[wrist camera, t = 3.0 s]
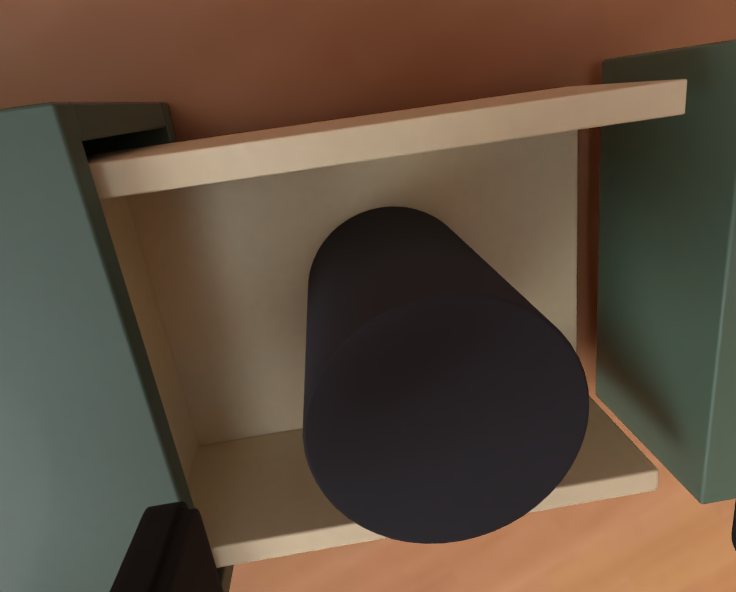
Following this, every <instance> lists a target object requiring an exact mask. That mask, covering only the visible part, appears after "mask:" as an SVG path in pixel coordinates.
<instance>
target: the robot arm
mask: <svg viewBox="0 0 736 592" xmlns="http://www.w3.org/2000/svg"><path fill="white" fill-rule="evenodd" d="M732 542H733V545H734V548H735V550H736V502H735V510H734V519H733V527H732ZM110 592H224V591H223V588H222V584H221V581H220V578H219V574H218V571H217V568H216V564H215V561H214V557H213V554H212V551H211V547H210V544H209V541H208V537H207V534H206V531H205V527H204V524H203V520H202V517H201V514H200V512H199V510H198V509H197V508H194V509H189V508H188V506H187V504H186V503H185V502H183V501H180V502H174V503H168V504H162V505H156V506H151V507H148V508H147V509H146V510H145V511H144V513H143V515H142V517H141V520H140V522H139V524H138V527H137V529H136V531H135V534H134V536H133V538H132V541H131V543H130V545H129V548H128V550H127V552H126V555H125V557H124V559H123V562H122V564H121V566H120V569H119V571H118V573H117V576H116V578H115V580H114V583H113V585H112V587H111V590H110Z"/></svg>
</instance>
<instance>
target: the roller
mask: <svg viewBox="0 0 736 592" xmlns="http://www.w3.org/2000/svg"><path fill="white" fill-rule="evenodd" d="M588 416H589V392H588V385H587V381H586V376H585V372H584V369H583V367H582V364H581V362H580V359H579V357H578V355H577V353H576V352H575V350H574V348H573V347H572V345H571V343H570V342H569V341H568V340H567V338H566V337H565V336H564V335H563V333H562V332H561V331H560V330H559V329H558V328H557V327H556V326H555V325H554V324H553V323H552V322H550V321H549V320H548V319H547V318H546V317H545V316H544V315H543V314H542V313H541V312H540V311H539V310H538V309H536V308H535V307H534V306H533V305H532V304H531V303H530V302H529V301H528V300H527V299H526V298H525V297H524V296H522V295H521V294H520V293H519V292H518V291H517V290H516V289H515V288H514V287H513V286H512V285H511V284H510V283H508V282H507V281H506V280H505V279H504V278H503V277H502V276H501V275H500V274H499V273H498V272H497V271H495V270H494V269H493V268H492V267H491V266H490V265H489V264H488V263H487V262H486V261H485V260H484V259H483V258H481V257H480V256H479V255H478V254H477V253H476V252H475V251H474V250H473V249H472V248H471V247H470V246H469V245H467V244H466V243H465V242H464V241H463V240H462V239H461V238H460V237H459V236H458V235H457V234H456V233H455V232H453V231H452V230H451V229H450V228H449V227H448V226H447V225H446V224H445V223H443V222H442V221H440V220H439V219H437V218H436V217H434V216H432V215H430V214H428V213H426V212H423V211H420V210H417V209H413V208H407V207H396V206H390V207H380V208H375V209H371V210H368V211H365V212H362V213H359V214H357V215H355V216H353V217H351V218H349V219H348V220H346V221H345V222H344V223H342V224H341V225H339V226H338V227H337V228H336V229H335V230H334V231H333V232H331V234H330V235H329V236H328V237H327V238H326V239H325V241H324V242H323V243H322V245H321V246H320V248H319V250H318V251H317V253H316V256H315V258H314V260H313V263H312V266H311V269H310V273H309V279H308V299H307V326H306V353H305V380H304V407H303V443H304V451H305V455H306V459H307V462H308V466H309V469H310V471H311V473H312V475H313V477H314V479H315V482H316V483H317V485H318V486H319V488H320V489H321V491H322V492H323V494H324V495H325V497H326V498H327V499H328V500H329V501H330V502H331V503H332V504H333V506H334V507H335V508H336V509H337V510H339V511H340V512H341V513H342V514H343V515H345V516H346V517H347V518H348V519H350V520H351V521H353V522H355V523H356V524H358V525H359V526H361V527H363V528H365V529H367V530H369V531H371V532H374V533H376V534H378V535H382V536H385V537H388V538H391V539H395V540H400V541H405V542H412V543H424V544H431V543H448V542H456V541H462V540H466V539H471V538H475V537H478V536H481V535H484V534H487V533H490V532H493V531H495V530H497V529H500V528H502V527H504V526H506V525H508V524H510V523H512V522H514V521H515V520H517V519H519V518H520V517H522V516H524V515H525V514H527V513H528V512H529V511H531V510H532V509H533V508H535V507H536V506H537V505H539V504H540V503H541V502H542V501H543V500H544V499H545V498H546V497H547V496H548V495H550V494H551V492H552V491H553V490H554V489H555V488H556V487H557V486H558V485H559V483H560V482H561V481H562V480H563V478H564V477H565V475H566V474H567V472H568V471H569V470H570V468H571V466H572V464H573V463H574V461H575V459H576V457H577V455H578V453H579V451H580V448H581V445H582V443H583V440H584V437H585V433H586V429H587V424H588Z"/></svg>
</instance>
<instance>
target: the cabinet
mask: <svg viewBox="0 0 736 592" xmlns="http://www.w3.org/2000/svg"><path fill="white" fill-rule="evenodd" d="M175 142H177V141H176V137H175V133H174V128H173V124H172V120H171V116H170V112H169V108H168V104H167V103H165V102H159V103H158V102H67V103H66V102H49V103H42V104H34V105H27V106H20V107H13V108H5V109H0V592H110V590H111V587H112V585H113V583H114V580H115V578H116V576H117V573H118V571H119V569H120V566H121V564H122V562H123V559H124V557H125V555H126V552H127V550H128V548H129V545H130V543H131V541H132V538H133V536H134V534H135V531H136V529H137V527H138V524H139V522H140V520H141V517H142V515H143V513H144V511H145V510H146V509H147V508H148V507H151V506H156V505H162V504H168V503H174V502H180V501H183V502H185V503H186V504H187V506H188V508H189V509H194V505H193V501H192V498H191V495H190V492H189V488H188V485H187V482H186V479H185V475H184V472H183V469H182V466H181V462H180V459H179V456H178V453H177V449H176V446H175V443H174V440H173V436H172V433H171V430H170V427H169V423H168V420H167V417H166V414H165V410H164V407H163V404H162V401H161V397H160V394H159V391H158V388H157V385H156V381H155V378H154V375H153V372H152V368H151V365H150V362H149V359H148V355H147V352H146V349H145V346H144V342H143V339H142V336H141V333H140V329H139V326H138V323H137V320H136V316H135V313H134V310H133V307H132V303H131V300H130V297H129V294H128V290H127V287H126V284H125V281H124V277H123V274H122V271H121V268H120V264H119V261H118V258H117V255H116V252H115V248H114V245H113V242H112V239H111V235H110V232H109V229H108V226H107V222H106V219H105V216H104V213H103V209H102V206H101V203H100V200H99V196H98V193H97V190H96V187H95V183H94V180H93V177H92V174H91V170H90V167H89V164H88V161H87V157H86V156H90V155H94V154H99V153H104V152H111V151H118V150H125V149H132V148H140V147H147V146H154V145H161V144H168V143H175ZM233 566H234V565H230V566H224V567H219V568H217V571H218V574H219V578H220V581H221V584H222V588H223V591H224V592H229V589H230V583H231V577H232V572H233Z"/></svg>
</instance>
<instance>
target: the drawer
mask: <svg viewBox="0 0 736 592" xmlns="http://www.w3.org/2000/svg"><path fill="white" fill-rule="evenodd" d="M594 127H601V154H600V204H599V254H598V305H597V355H596V396H597V397H598V398H599V399H600V400H601V401H602V402H603V403H604V404H605V405H606V406H607V407H608V408H609V409H610V410H611V411H612V412H613V413H614V414H615V415H616V416H617V417H618V418H619V419H620V421H621V422H622V423H623V424H624V425H625V426H626V427H627V428H628V429H629V430H630V431H631V432H632V433H633V434H634V435H635V436H636V437H637V438H638V439H639V440H640V441H641V442H642V443H643V444H644V445H645V446H646V448H647V449H648V450H649V451H650V452H651V453H652V454H653V455H654V456H655V457H656V458H657V459H658V460H659V461H660V462H661V463H662V464H663V465H664V466H665V467H666V468H667V469H668V470H669V471H670V472H671V473H672V475H673V476H674V477H675V478H676V479H677V480H678V481H679V482H680V483H681V484H682V485H683V486H684V487H685V488H686V489H687V490H688V491H689V492H690V493H691V494H692V495H693V496H694V497H695V498H696V499H697V500H698V502H699V503H701V504H707V503H713V502H719V501H724V500H730V499H734V498H736V40H729V41H722V42H716V43H709V44H702V45H696V46H689V47H682V48H676V49H669V50H662V51H656V52H649V53H643V54H636V55H629V56H623V57H616V58H609V59H605V60H603V62H602V84H597V85H582V86H568V87H560V88H553V89H546V90H539V91H532V92H525V93H518V94H511V95H504V96H497V97H490V98H483V99H476V100H469V101H462V102H455V103H448V104H441V105H434V106H427V107H420V108H413V109H406V110H399V111H392V112H385V113H378V114H371V115H364V116H357V117H350V118H343V119H336V120H329V121H322V122H315V123H308V124H301V125H294V126H287V127H280V128H273V129H266V130H259V131H252V132H245V133H238V134H231V135H224V136H217V137H210V138H203V139H196V140H189V141H182V142H175V143H168V144H161V145H154V146H147V147H140V148H132V149H125V150H118V151H111V152H104V153H99V154H94V155H90V156H86V157H87V161H88V164H89V167H90V170H91V174H92V177H93V180H94V183H95V187H96V190H97V193H98V196H99V200H100V203H101V206H102V209H103V213H104V216H105V219H106V222H107V226H108V229H109V232H110V235H111V239H112V242H113V245H114V248H115V252H116V255H117V258H118V261H119V264H120V268H121V271H122V274H123V277H124V281H125V284H126V287H127V290H128V294H129V297H130V300H131V303H132V307H133V310H134V313H135V316H136V320H137V323H138V326H139V329H140V333H141V336H142V339H143V342H144V346H145V349H146V352H147V355H148V359H149V362H150V365H151V368H152V372H153V375H154V378H155V381H156V385H157V388H158V391H159V394H160V397H161V401H162V404H163V407H164V410H165V414H166V417H167V420H168V423H169V427H170V430H171V433H172V436H173V440H174V443H175V446H176V449H177V453H178V456H179V459H180V462H181V466H182V469H183V472H184V475H185V479H186V482H187V485H188V488H189V492H190V495H191V498H192V501H193V505H194V508H197V509H198V510H199V512H200V514H201V517H202V520H203V524H204V527H205V531H206V534H207V537H208V541H209V544H210V547H211V551H212V554H213V557H214V561H215V564H216V568H219V567H224V566H230V565H236V564H241V563H247V562H253V561H258V560H264V559H270V558H275V557H281V556H287V555H292V554H298V553H304V552H309V551H315V550H321V549H326V548H332V547H338V546H343V545H349V544H354V543H360V542H366V541H371V540H377V539H383V538H388V537H385V536H382V535H378V534H376V533H374V532H371V531H369V530H367V529H365V528H363V527H361V526H359V525H358V524H356V523H355V522H353V521H351V520H350V519H348V518H347V517H346V516H345V515H343V514H342V513H341V512H340V511H339V510H337V509H336V508H335V507H334V506H333V504H332V503H331V502H330V501H329V500H328V499H327V498H326V497H325V495H324V494H323V492H322V491H321V489H320V488H319V486H318V485H317V483H316V482H315V479H314V477H313V475H312V473H311V471H310V469H309V466H308V462H307V459H306V455H305V451H304V443H303V407H304V380H305V353H306V326H307V299H308V279H309V273H310V269H311V266H312V263H313V260H314V258H315V256H316V253H317V251H318V250H319V248H320V246H321V245H322V243H323V242H324V241H325V239H326V238H327V237H328V236H329V235H330V234H331V232H333V231H334V230H335V229H336V228H337V227H338V226H339V225H341V224H342V223H344V222H345V221H346V220H348V219H349V218H351V217H353V216H355V215H357V214H359V213H362V212H365V211H368V210H371V209H375V208H380V207H390V206H396V207H407V208H413V209H417V210H420V211H423V212H426V213H428V214H430V215H432V216H434V217H436V218H437V219H439V220H440V221H442V222H443V223H445V224H446V225H447V226H448V227H449V228H450V229H451V230H452V231H453V232H455V233H456V234H457V235H458V236H459V237H460V238H461V239H462V240H463V241H464V242H465V243H466V244H467V245H469V246H470V247H471V248H472V249H473V250H474V251H475V252H476V253H477V254H478V255H479V256H480V257H481V258H483V259H484V260H485V261H486V262H487V263H488V264H489V265H490V266H491V267H492V268H493V269H494V270H495V271H497V272H498V273H499V274H500V275H501V276H502V277H503V278H504V279H505V280H506V281H507V282H508V283H510V284H511V285H512V286H513V287H514V288H515V289H516V290H517V291H518V292H519V293H520V294H521V295H522V296H524V297H525V298H526V299H527V300H528V301H529V302H530V303H531V304H532V305H533V306H534V307H535V308H536V309H538V310H539V311H540V312H541V313H542V314H543V315H544V316H545V317H546V318H547V319H548V320H549V321H550V322H552V323H553V324H554V325H555V326H556V327H557V328H558V329H559V330H560V331H561V332H562V333H563V335H564V336H565V337H566V338H567V340H568V341H569V342H570V343H571V345H572V347H573V348H574V350H575V352H576V353H577V189H578V130H580V129H587V128H594ZM658 475H659V471H658V469H657V468H656V467H655V466H654V465H653V463H652V462H651V461H650V460H649V459H648V458H647V457H646V456H645V455H644V454H643V453H642V452H641V451H640V450H639V449H638V447H637V446H636V445H635V444H634V443H633V442H632V441H631V440H630V439H629V438H628V437H627V436H626V435H625V434H624V433H623V431H622V430H621V429H620V428H619V427H618V426H617V425H616V424H615V423H614V422H613V421H612V420H611V419H610V418H609V416H608V415H607V414H606V413H605V412H604V411H603V410H602V409H601V408H600V407H599V406H598V405H597V404H596V403H595V402H594V400H593V399H592V398H591V397H590V396H589V416H588V424H587V429H586V433H585V437H584V440H583V443H582V445H581V448H580V451H579V453H578V455H577V457H576V459H575V461H574V463H573V464H572V466H571V468H570V470H569V471H568V472H567V474H566V475H565V477H564V478H563V480H562V481H561V482H560V483H559V485H558V486H557V487H556V488H555V489H554V490H553V491H552V492H551V494H550V495H548V496H547V497H546V498H545V499H544V500H543V501H542V502H541V503H540V504H539V505H537V506H536V507H535V508H533V509H532V510H531V511H529V512H528V513H530V512H536V511H541V510H547V509H553V508H558V507H564V506H569V505H575V504H581V503H586V502H592V501H598V500H603V499H609V498H615V497H620V496H626V495H632V494H637V493H643V492H649V491H654V490H657V489H658Z"/></svg>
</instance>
